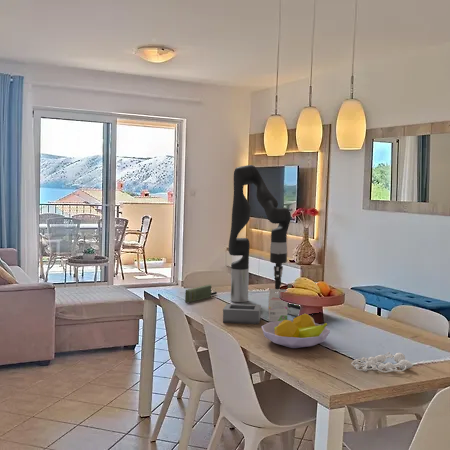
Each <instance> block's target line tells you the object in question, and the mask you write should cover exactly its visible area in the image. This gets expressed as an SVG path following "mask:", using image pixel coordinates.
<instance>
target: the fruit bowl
mask: <svg viewBox="0 0 450 450" xmlns="http://www.w3.org/2000/svg"><path fill="white" fill-rule="evenodd" d="M327 326H328V323H327V322H325V323H323V324H319V323H316V322H315V319H314V317H312V315H308V314H306V313H304V314H302V315H300V316H295V317H294V318H293V319H292V320H291V319H287V320H283V321H269V322H267V323H265V324H264V325H261V329H262V333H263V336H264V338H266V339H268V340H269V341H271V342H272V343H274V344H277V345H281V346H284V347H287V348H290V349H298V348H300V349H301V348H306V347H308V348H309V347H314V346H316V345H319V344H321V343H323V342H325V341H326V340H327V337H328V336H329V334H330V333H331V330H330V329H329V328H328V327H327Z"/></svg>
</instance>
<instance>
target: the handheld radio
mask: <svg viewBox="0 0 450 450" xmlns="http://www.w3.org/2000/svg"><path fill="white" fill-rule="evenodd" d="M217 294H218V292H217V291H214V292H212V284H206V285H201V286H197V287H193V288H189V289H185V297H184V298H185V300H184V302H185V303H187V302H189V303H193V302H196V301H199V300H204V299H207V298H211V297H212V296H214V295H217Z"/></svg>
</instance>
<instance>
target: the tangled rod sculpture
mask: <svg viewBox="0 0 450 450" xmlns="http://www.w3.org/2000/svg"><path fill="white" fill-rule="evenodd" d="M389 358H391V359H392V358H393V359H394V362H395V363H394V364H393V363H392V362H386V363H384V362H385V361H386V360H387V359H389ZM361 361H362V362H361ZM351 366H352V367H354V369H355V370H357V371H359V372H361V371H362V372H364V371H365V372H368V371H370V370H373V371H379V372H381V373H390V372H399V373H400V372H403V371H405V370H407V369H410V368H413V363H412V362H411V361H410V360H408V359H406V356H405V355H404V354H403V352H396V353H395V354H393V353H391V352H390V351H388V352H387V353H384V354H378V355H376V356H370V357H368V358H367V357H362V358H357V359H354V360H353V361H352V362H351ZM397 367H399V369H398V368H397ZM360 368H361V369H360ZM383 369H384V370H383Z"/></svg>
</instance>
